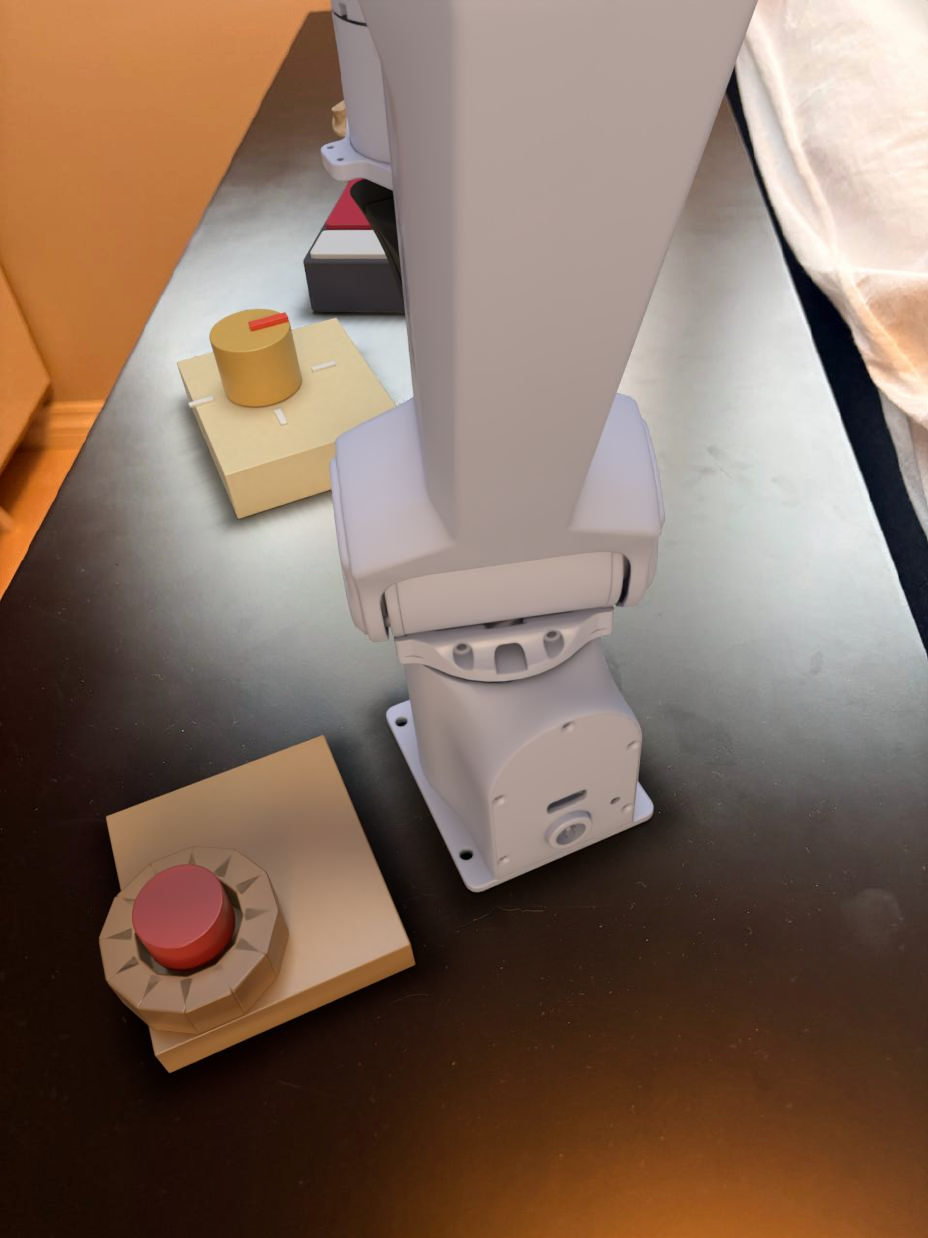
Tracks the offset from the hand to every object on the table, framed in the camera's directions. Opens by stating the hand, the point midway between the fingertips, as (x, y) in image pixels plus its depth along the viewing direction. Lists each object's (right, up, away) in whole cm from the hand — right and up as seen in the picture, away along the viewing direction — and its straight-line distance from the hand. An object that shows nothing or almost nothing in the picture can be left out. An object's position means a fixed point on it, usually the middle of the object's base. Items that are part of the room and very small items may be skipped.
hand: (445, 344), depth 44 cm
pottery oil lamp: (-4, +27, +41) cm, 49 cm away
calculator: (-3, +13, +27) cm, 31 cm away
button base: (-7, -23, -6) cm, 25 cm away
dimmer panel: (-9, -1, +14) cm, 17 cm away
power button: (-8, -23, -11) cm, 26 cm away
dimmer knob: (-11, +1, +12) cm, 16 cm away
